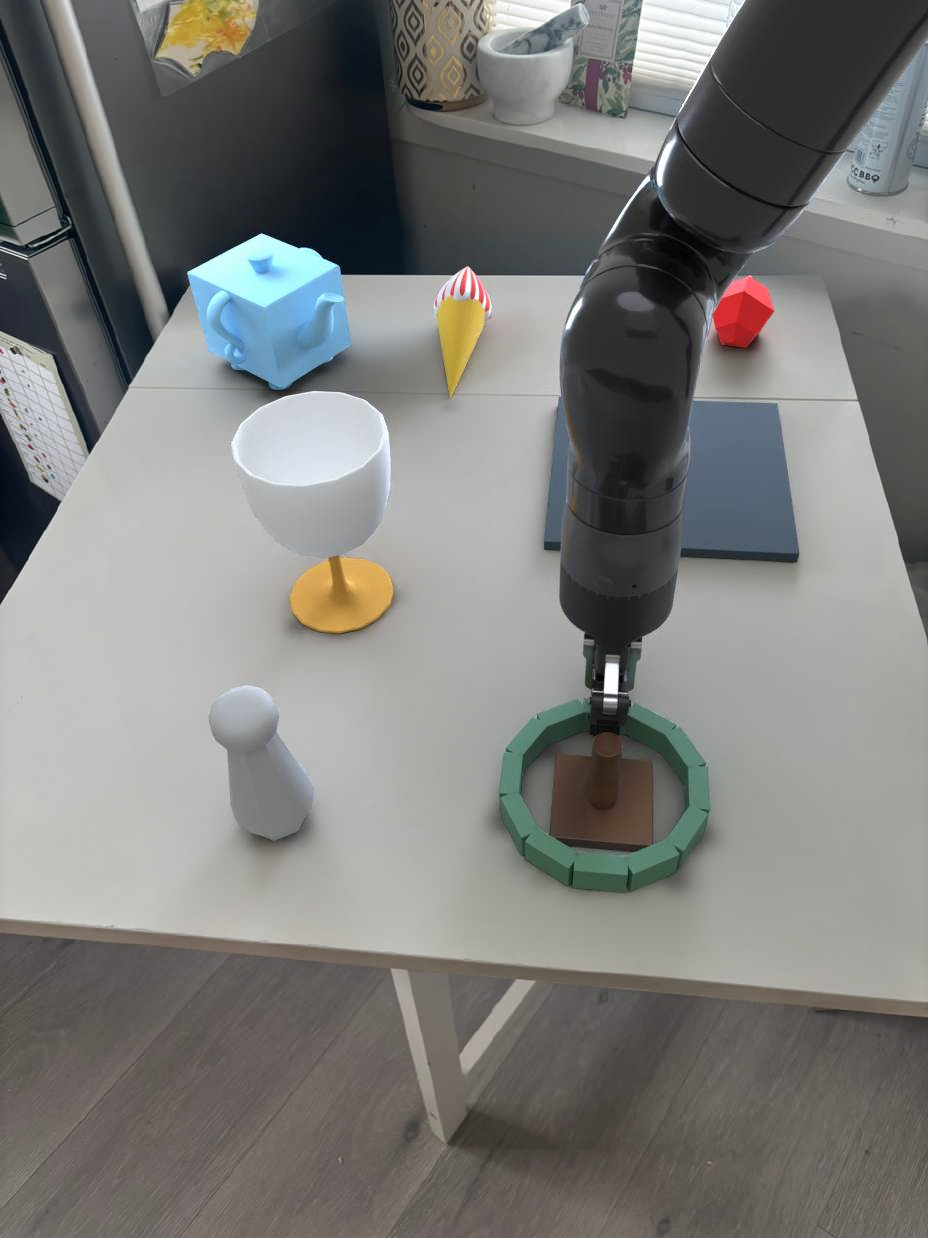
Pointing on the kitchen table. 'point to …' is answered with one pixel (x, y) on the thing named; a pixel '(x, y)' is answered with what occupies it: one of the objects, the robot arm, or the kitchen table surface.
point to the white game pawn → (260, 764)
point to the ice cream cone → (460, 321)
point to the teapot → (271, 309)
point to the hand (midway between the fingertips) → (605, 715)
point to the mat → (716, 484)
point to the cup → (321, 499)
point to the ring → (601, 867)
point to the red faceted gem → (742, 312)
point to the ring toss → (603, 798)
